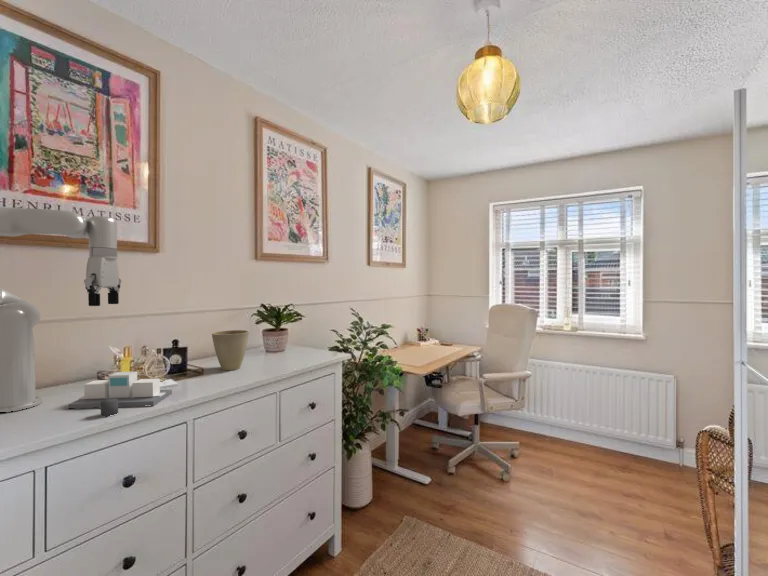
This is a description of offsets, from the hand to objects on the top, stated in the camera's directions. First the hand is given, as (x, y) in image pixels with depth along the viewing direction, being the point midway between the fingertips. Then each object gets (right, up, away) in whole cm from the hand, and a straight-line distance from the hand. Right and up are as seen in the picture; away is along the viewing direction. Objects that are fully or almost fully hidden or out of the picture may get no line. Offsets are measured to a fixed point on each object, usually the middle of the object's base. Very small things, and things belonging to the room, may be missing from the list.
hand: (104, 304), depth 123 cm
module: (+11, -29, -6) cm, 31 cm away
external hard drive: (+11, -31, +9) cm, 34 cm away
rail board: (+11, -30, -6) cm, 33 cm away
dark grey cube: (+15, -31, -18) cm, 39 cm away
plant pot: (+27, -30, +37) cm, 55 cm away
